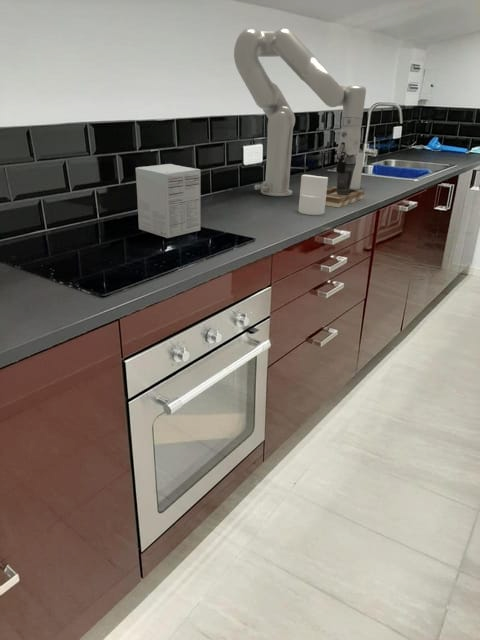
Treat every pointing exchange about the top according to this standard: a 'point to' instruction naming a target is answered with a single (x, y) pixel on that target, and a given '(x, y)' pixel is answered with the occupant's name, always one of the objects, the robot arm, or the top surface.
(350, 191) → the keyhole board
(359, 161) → the milk carton
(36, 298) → the top surface
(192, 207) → the supplement box
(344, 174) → the beverage cup
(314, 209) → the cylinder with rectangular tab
